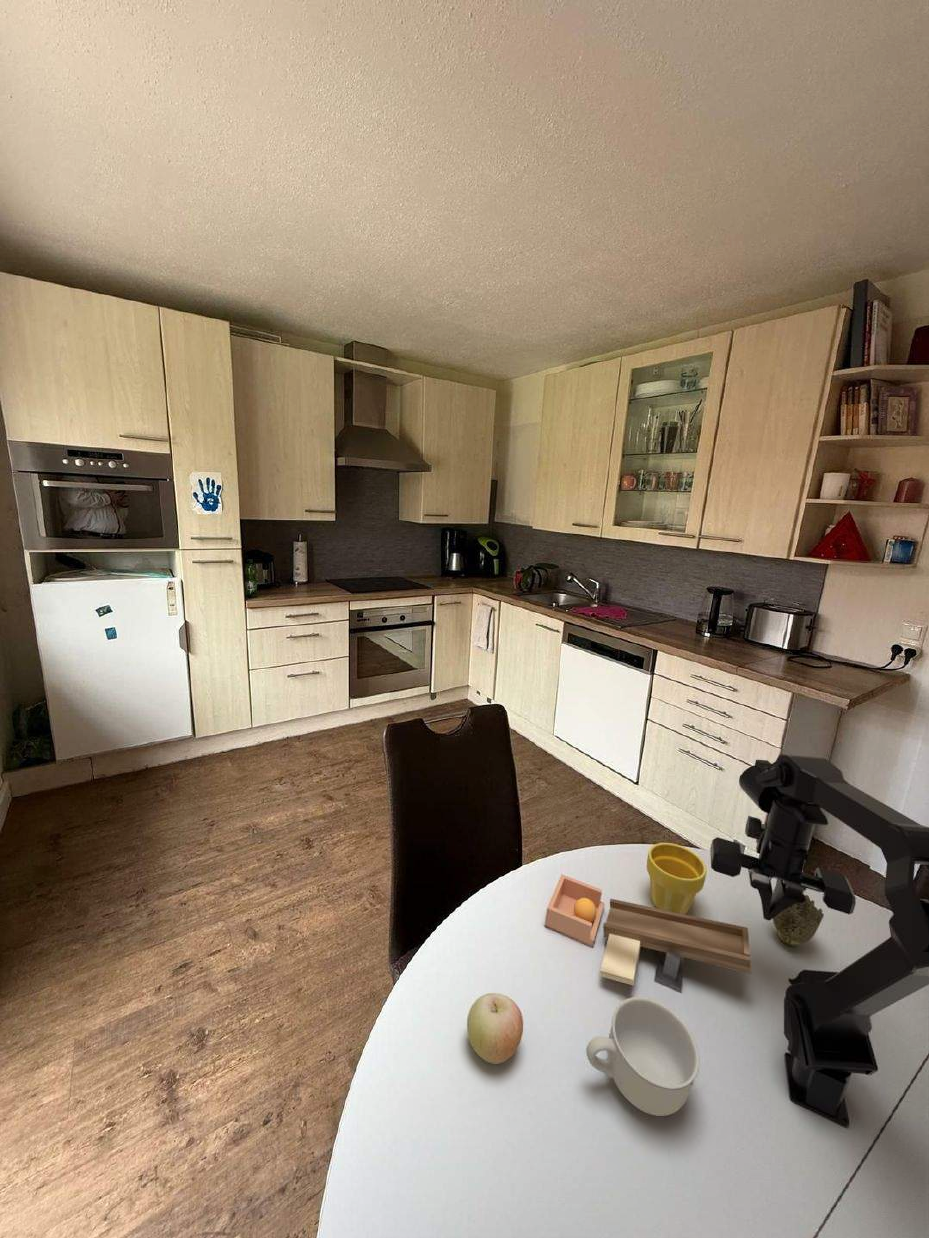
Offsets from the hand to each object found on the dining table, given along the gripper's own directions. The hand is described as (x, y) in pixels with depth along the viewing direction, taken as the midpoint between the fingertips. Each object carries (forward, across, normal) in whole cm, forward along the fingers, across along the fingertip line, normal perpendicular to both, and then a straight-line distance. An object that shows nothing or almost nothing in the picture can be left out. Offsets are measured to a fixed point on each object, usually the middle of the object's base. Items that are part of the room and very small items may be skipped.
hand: (766, 917), depth 81 cm
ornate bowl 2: (+12, -7, -12) cm, 19 cm away
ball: (+10, +27, +2) cm, 29 cm away
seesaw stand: (+12, +12, +2) cm, 17 cm away
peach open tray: (+12, +29, +2) cm, 31 cm away
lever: (+8, +12, +6) cm, 16 cm away
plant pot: (+12, +13, -11) cm, 21 cm away
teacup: (+12, +16, +25) cm, 32 cm away
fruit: (+12, +34, +30) cm, 47 cm away
